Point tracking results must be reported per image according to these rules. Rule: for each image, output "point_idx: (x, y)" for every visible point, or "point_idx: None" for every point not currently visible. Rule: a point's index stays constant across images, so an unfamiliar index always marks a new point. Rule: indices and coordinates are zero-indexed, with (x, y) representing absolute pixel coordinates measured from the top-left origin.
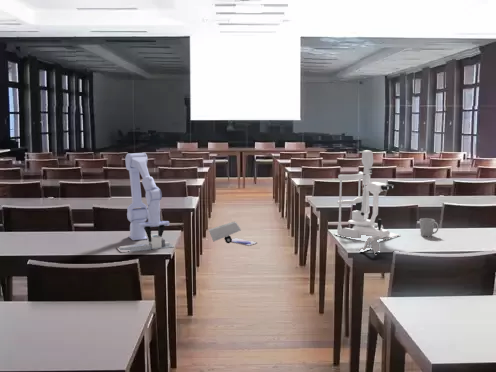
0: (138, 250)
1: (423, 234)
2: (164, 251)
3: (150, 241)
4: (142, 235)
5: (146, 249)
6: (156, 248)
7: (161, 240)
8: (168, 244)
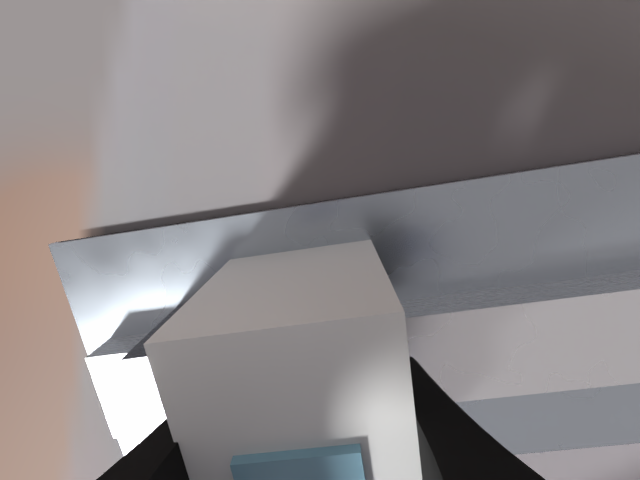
0: (616, 159)
1: None
2: (202, 17)
3: None
4: None
5: (476, 187)
6: (312, 207)
7: None
8: (119, 342)
